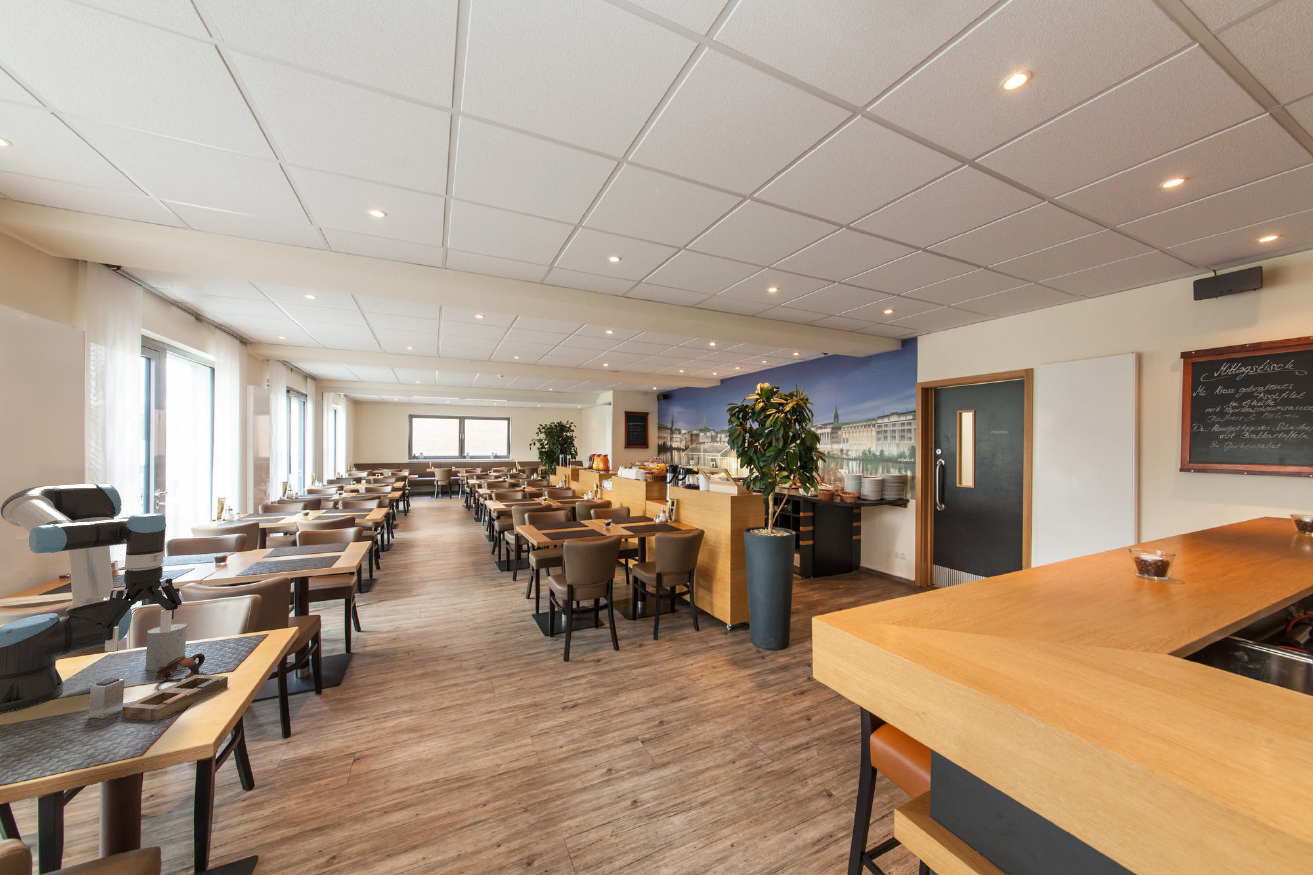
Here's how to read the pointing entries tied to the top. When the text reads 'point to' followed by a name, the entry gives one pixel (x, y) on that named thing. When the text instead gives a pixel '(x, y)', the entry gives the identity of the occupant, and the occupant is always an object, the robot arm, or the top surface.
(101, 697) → the plug
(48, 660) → the robot arm
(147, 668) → the grey cylinder
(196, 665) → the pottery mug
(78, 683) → the top surface
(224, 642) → the top surface
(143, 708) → the socket board
